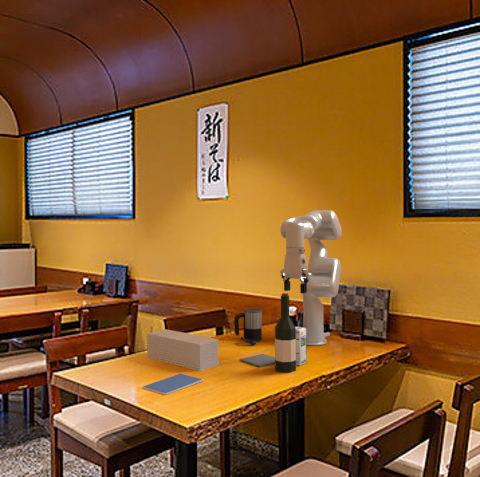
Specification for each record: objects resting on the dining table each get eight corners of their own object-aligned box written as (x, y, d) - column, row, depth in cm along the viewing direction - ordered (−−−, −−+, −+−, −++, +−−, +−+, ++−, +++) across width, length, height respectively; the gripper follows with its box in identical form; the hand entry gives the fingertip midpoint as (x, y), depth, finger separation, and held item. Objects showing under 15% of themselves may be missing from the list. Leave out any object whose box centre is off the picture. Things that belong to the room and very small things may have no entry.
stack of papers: (147, 358, 224) (147, 333, 223) (166, 353, 232) (165, 329, 231) (200, 371, 203) (200, 344, 203) (218, 365, 211) (218, 339, 211)
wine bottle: (298, 367, 206) (297, 292, 205) (293, 373, 198) (292, 295, 197) (277, 365, 209) (277, 291, 208) (272, 371, 201) (271, 294, 200)
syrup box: (300, 366, 208) (300, 330, 208) (287, 364, 212) (287, 328, 211) (307, 362, 213) (306, 327, 212) (294, 360, 216) (294, 326, 216)
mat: (262, 355, 225) (262, 353, 225) (283, 361, 215) (283, 359, 215) (239, 360, 217) (239, 358, 217) (260, 367, 207) (260, 365, 207)
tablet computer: (165, 397, 175) (165, 393, 175) (141, 389, 183) (141, 386, 183) (204, 382, 190) (204, 379, 190) (180, 376, 198) (180, 372, 198)
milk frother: (257, 337, 260) (257, 307, 260) (272, 343, 246) (271, 312, 245) (231, 340, 254) (231, 310, 254) (244, 347, 240) (244, 315, 239)
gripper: (316, 251, 214) (316, 293, 215) (287, 250, 227) (287, 289, 228) (303, 252, 209) (303, 295, 210) (274, 251, 223) (274, 290, 223)
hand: (295, 291), depth 219 cm, fingers open, 9 cm apart
